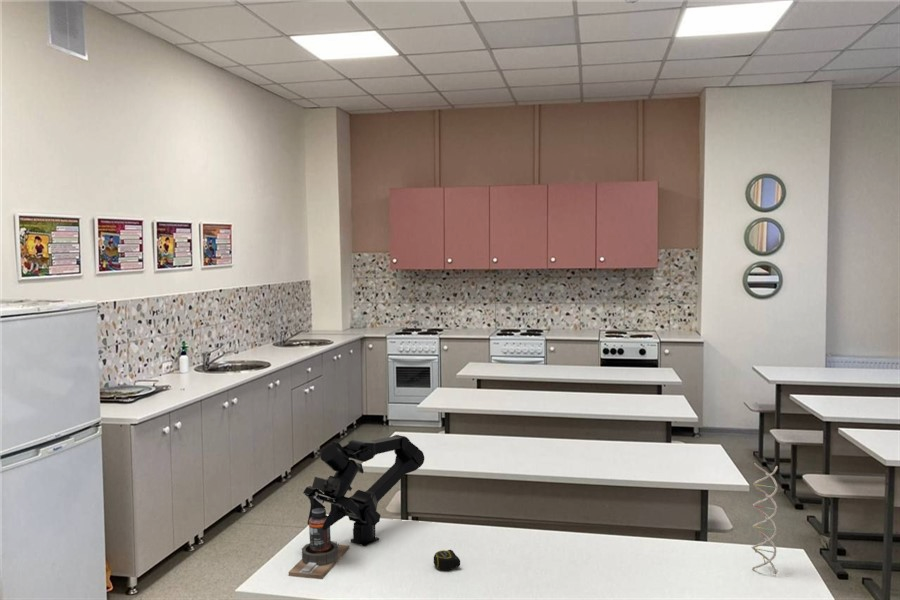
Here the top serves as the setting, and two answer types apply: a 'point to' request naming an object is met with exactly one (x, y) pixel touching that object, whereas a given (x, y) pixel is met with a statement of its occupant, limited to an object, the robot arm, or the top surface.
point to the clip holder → (318, 561)
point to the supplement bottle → (319, 531)
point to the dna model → (766, 518)
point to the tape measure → (446, 560)
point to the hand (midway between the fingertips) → (315, 527)
